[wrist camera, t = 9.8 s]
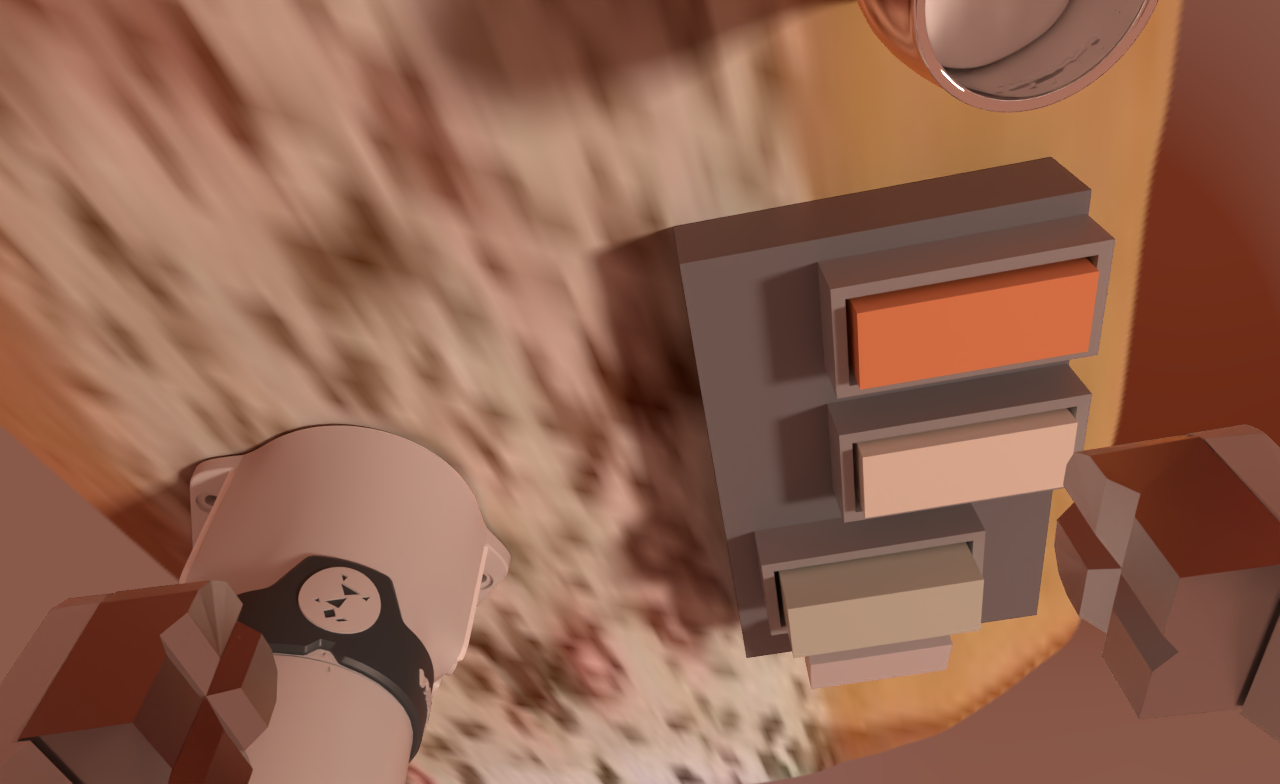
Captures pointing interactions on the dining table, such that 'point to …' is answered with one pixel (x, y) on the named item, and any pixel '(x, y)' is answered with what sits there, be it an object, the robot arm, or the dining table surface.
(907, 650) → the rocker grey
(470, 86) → the dining table surface
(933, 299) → the bar orange
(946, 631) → the bar sage
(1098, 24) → the beer glass
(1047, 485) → the bar ivory
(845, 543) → the panel
